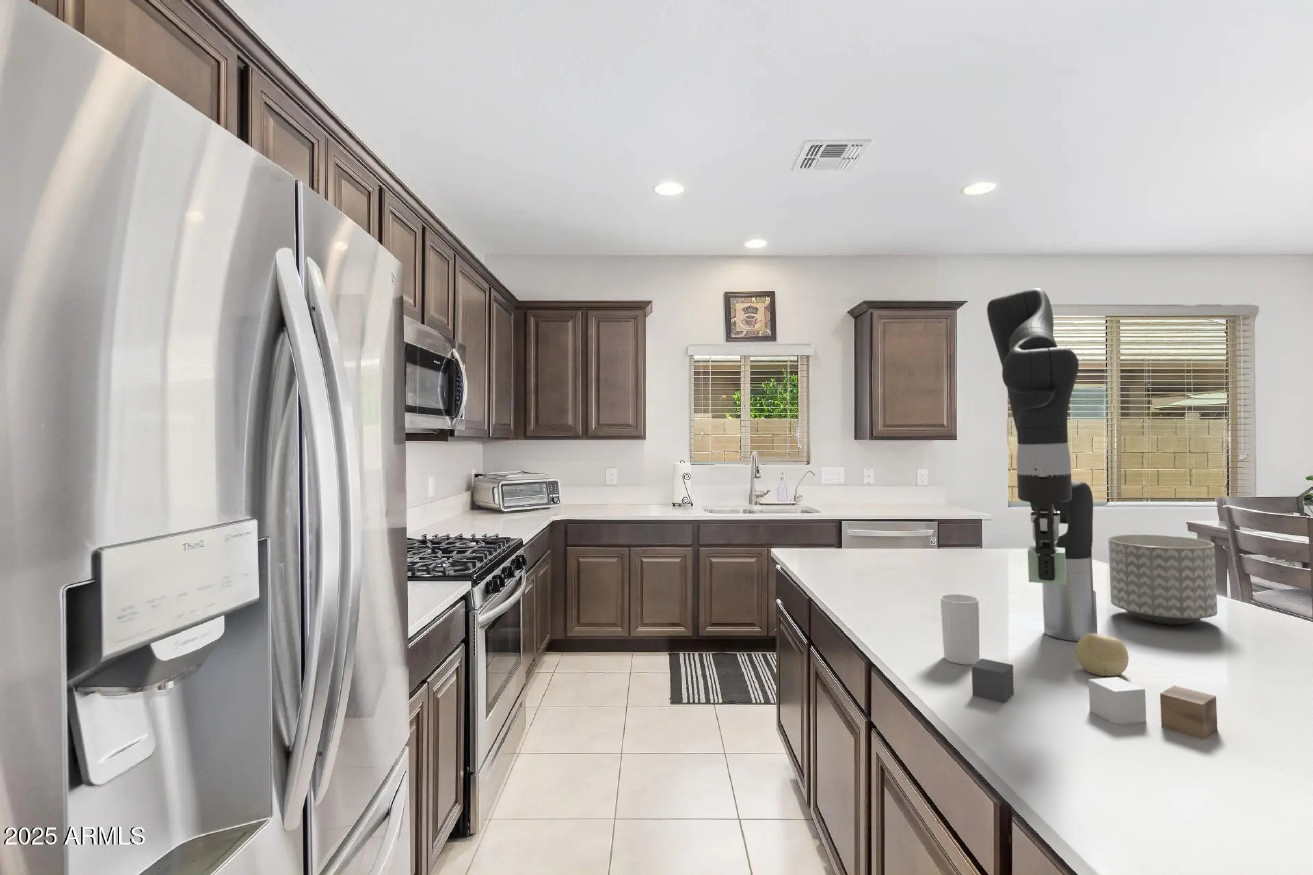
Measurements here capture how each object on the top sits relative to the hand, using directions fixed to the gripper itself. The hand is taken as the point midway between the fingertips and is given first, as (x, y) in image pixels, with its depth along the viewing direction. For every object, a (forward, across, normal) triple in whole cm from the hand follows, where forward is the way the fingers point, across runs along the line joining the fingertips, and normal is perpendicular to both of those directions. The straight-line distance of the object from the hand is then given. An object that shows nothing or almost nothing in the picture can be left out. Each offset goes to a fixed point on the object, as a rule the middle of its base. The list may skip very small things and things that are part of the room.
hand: (1047, 575), depth 103 cm
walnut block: (+21, 0, +17) cm, 27 cm away
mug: (+21, -17, -15) cm, 31 cm away
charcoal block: (+21, 0, -9) cm, 23 cm away
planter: (+21, -64, +20) cm, 70 cm away
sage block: (+1, 0, 0) cm, 1 cm away
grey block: (+21, 0, +8) cm, 23 cm away
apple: (+21, -20, +7) cm, 30 cm away
